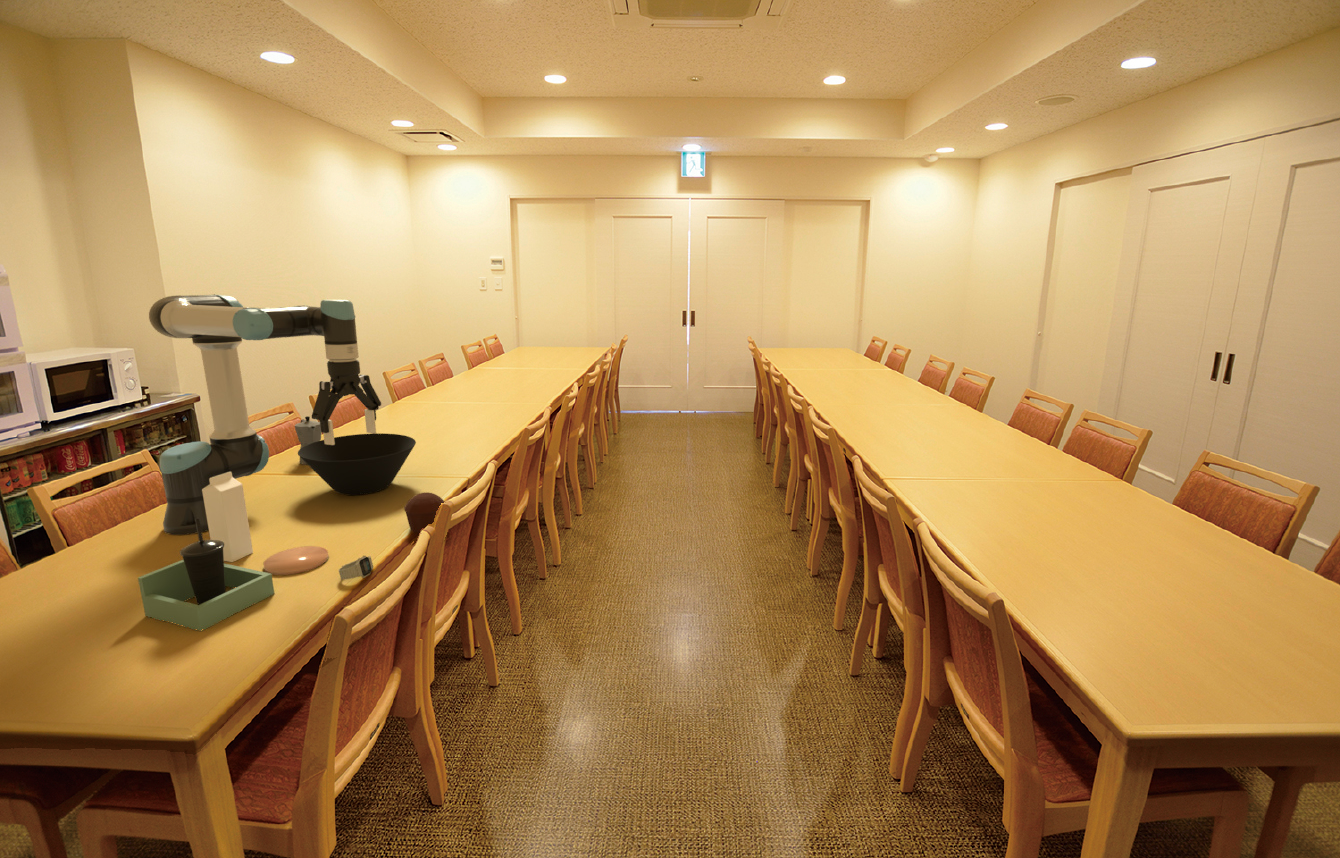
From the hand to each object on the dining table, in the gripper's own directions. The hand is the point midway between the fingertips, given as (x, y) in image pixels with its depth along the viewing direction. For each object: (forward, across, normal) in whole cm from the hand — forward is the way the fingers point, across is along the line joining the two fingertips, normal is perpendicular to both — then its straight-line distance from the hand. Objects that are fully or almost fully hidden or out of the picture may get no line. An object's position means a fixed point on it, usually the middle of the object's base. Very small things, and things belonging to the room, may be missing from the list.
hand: (351, 438), depth 166 cm
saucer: (+28, -19, +1) cm, 34 cm away
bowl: (+28, +30, +31) cm, 52 cm away
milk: (+28, -23, +19) cm, 41 cm away
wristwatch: (+28, -18, -18) cm, 38 cm away
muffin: (+28, +12, -13) cm, 33 cm away
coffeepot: (+28, +46, +75) cm, 92 cm away
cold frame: (+28, -41, -1) cm, 50 cm away
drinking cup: (+28, -41, -1) cm, 50 cm away
